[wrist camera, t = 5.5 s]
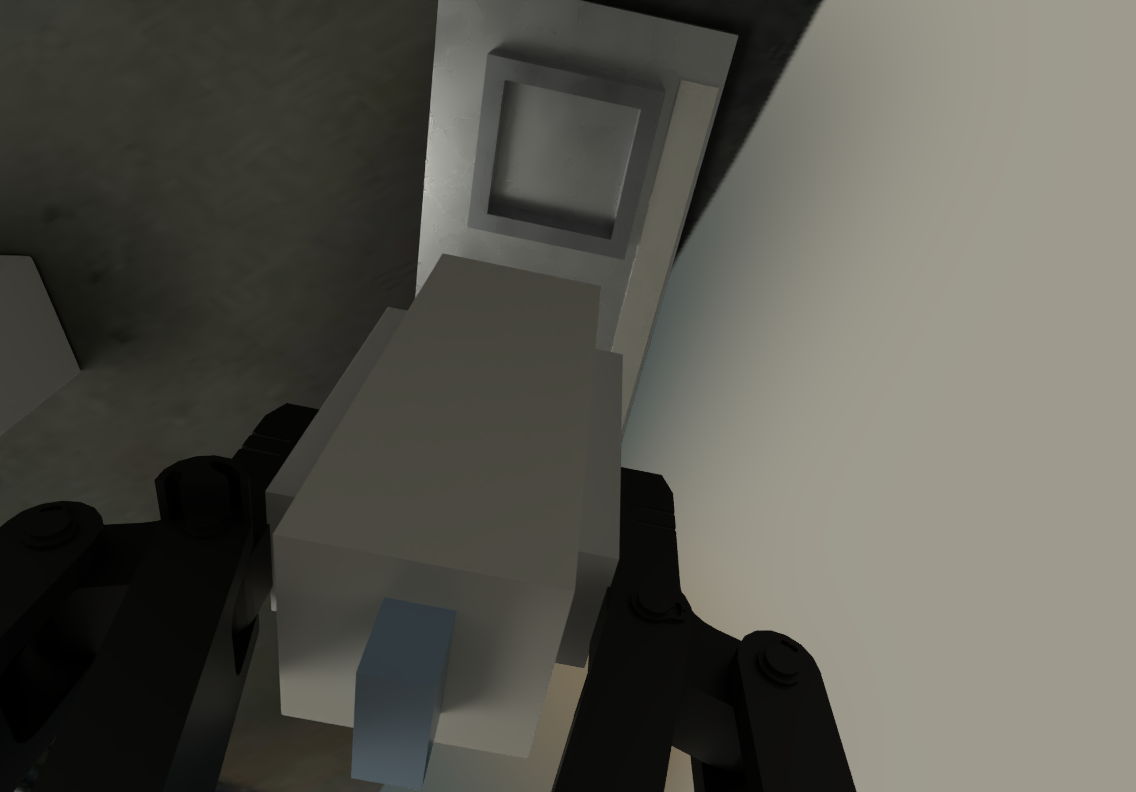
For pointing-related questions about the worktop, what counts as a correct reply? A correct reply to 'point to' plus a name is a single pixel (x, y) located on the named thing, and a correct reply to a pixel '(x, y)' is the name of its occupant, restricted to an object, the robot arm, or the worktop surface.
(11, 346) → the milk carton
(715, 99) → the panel
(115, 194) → the worktop surface
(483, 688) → the plug
